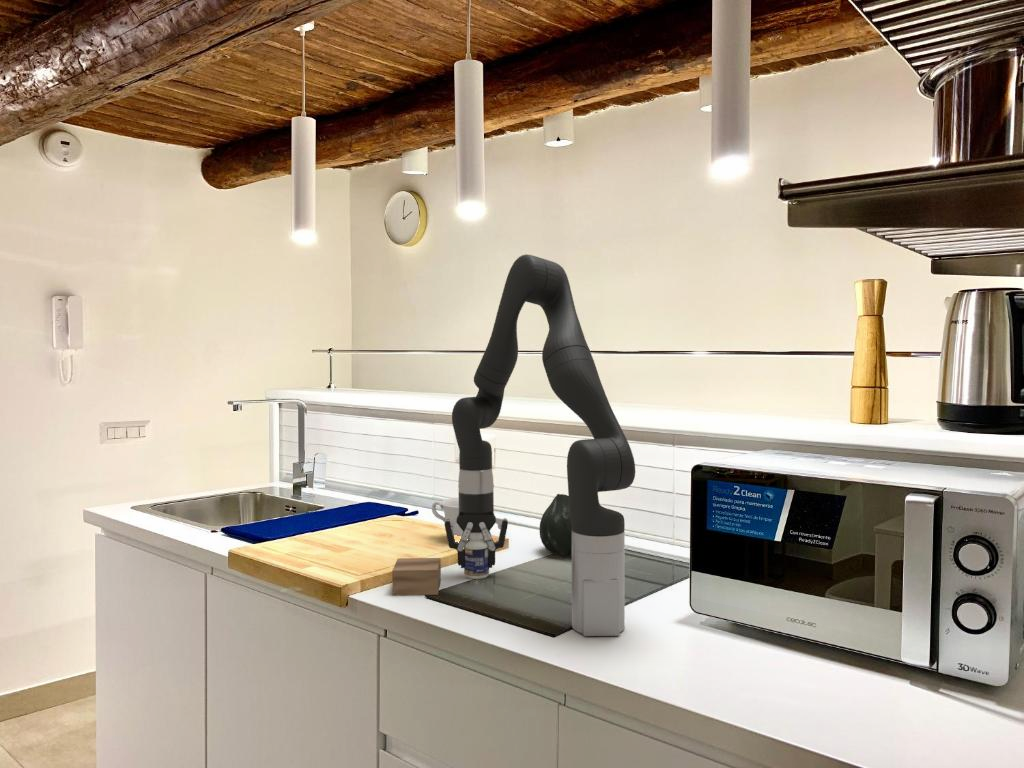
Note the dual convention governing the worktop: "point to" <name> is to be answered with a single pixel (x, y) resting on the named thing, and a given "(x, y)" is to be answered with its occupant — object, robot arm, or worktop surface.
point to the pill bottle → (476, 557)
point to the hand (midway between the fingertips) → (476, 566)
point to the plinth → (416, 576)
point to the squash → (557, 527)
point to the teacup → (449, 512)
